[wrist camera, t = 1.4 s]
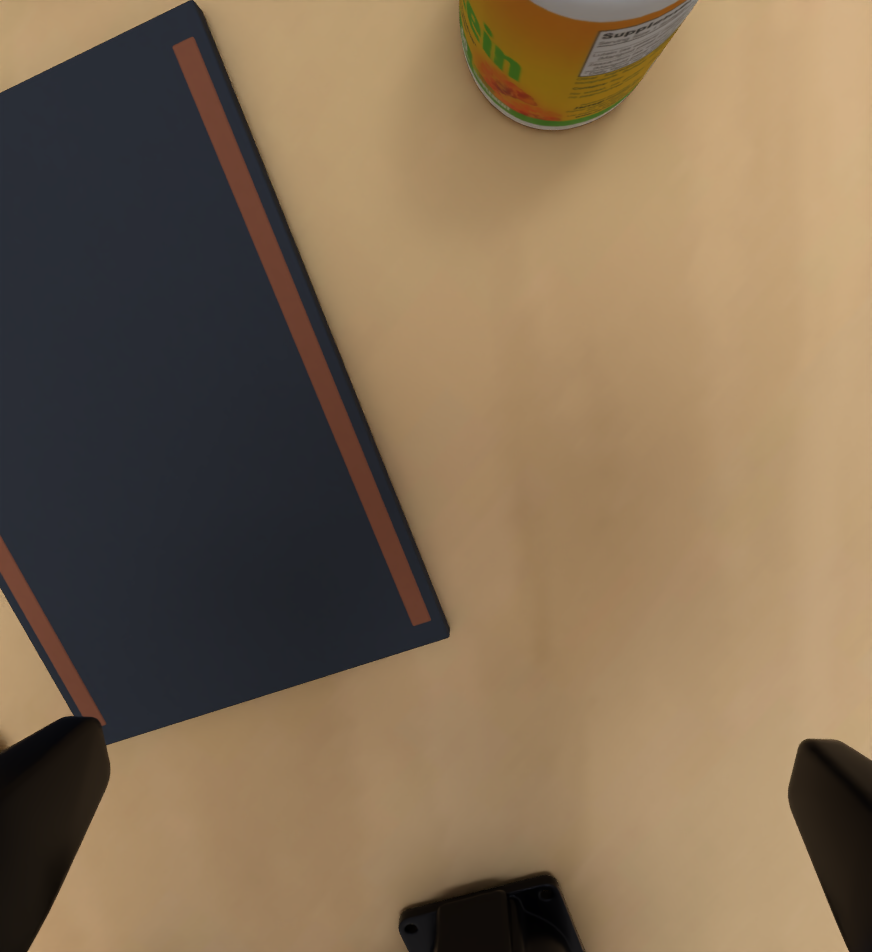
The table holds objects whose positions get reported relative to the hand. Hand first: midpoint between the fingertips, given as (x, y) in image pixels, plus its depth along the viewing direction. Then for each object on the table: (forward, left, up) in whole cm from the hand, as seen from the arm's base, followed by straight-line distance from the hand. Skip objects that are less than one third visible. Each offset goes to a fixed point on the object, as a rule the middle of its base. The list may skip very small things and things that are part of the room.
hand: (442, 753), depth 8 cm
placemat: (+6, +9, -12) cm, 16 cm away
